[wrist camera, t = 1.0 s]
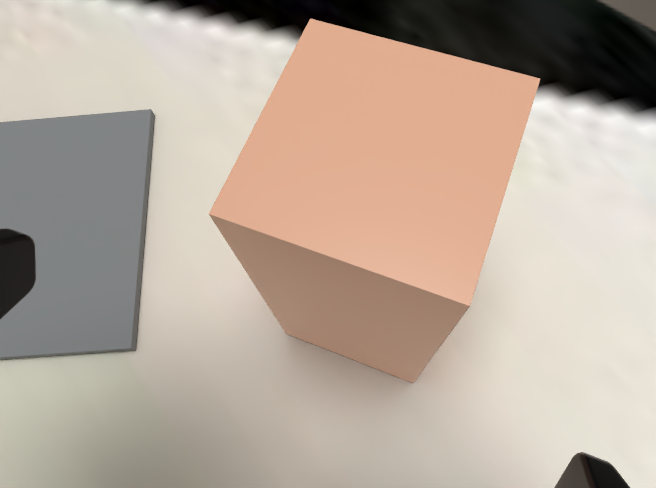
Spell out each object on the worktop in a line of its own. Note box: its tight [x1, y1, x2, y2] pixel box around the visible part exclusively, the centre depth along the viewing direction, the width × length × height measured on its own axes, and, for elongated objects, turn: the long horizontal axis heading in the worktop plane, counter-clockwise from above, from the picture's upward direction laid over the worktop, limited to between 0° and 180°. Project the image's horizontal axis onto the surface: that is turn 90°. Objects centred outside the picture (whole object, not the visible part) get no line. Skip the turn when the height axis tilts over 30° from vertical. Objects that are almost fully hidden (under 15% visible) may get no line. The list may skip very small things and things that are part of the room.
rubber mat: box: [0, 109, 155, 360], centre depth 24 cm, size 12×11×1 cm
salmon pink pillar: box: [209, 19, 540, 383], centre depth 17 cm, size 6×6×12 cm
